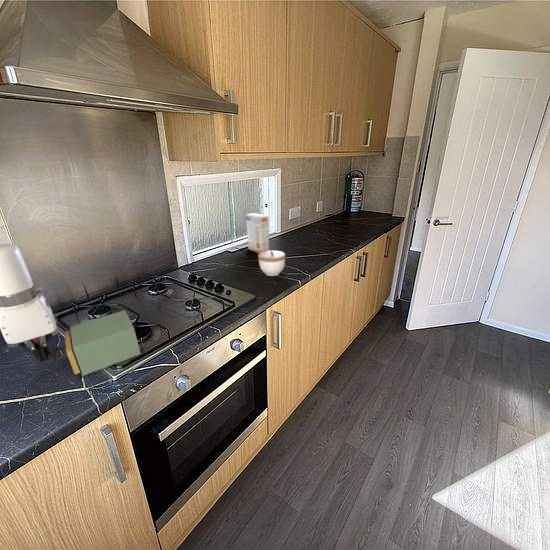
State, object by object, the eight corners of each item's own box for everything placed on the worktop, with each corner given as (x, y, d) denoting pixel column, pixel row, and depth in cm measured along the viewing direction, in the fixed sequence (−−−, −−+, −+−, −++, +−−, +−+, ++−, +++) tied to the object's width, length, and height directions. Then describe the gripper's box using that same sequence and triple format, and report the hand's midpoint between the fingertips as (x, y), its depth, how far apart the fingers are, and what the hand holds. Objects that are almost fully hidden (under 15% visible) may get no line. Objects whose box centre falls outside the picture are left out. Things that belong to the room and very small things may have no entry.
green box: (83, 376, 78) (72, 348, 74) (79, 352, 87) (69, 326, 84) (140, 354, 85) (134, 327, 82) (131, 334, 95) (125, 310, 91)
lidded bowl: (276, 280, 131) (275, 257, 126) (253, 274, 137) (252, 252, 133) (290, 270, 140) (290, 248, 136) (268, 266, 147) (267, 245, 142)
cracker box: (270, 253, 165) (268, 216, 157) (261, 255, 162) (259, 217, 154) (256, 247, 176) (254, 212, 167) (248, 249, 172) (245, 213, 164)
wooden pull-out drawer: (55, 382, 75) (45, 359, 72) (54, 358, 83) (45, 337, 80) (129, 354, 84) (123, 333, 81) (122, 336, 93) (116, 316, 90)
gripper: (54, 282, 76) (76, 340, 83) (-23, 300, 68) (9, 362, 76) (55, 292, 70) (78, 354, 78) (-30, 313, 63) (5, 379, 70)
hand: (44, 358), depth 77 cm, fingers closed
